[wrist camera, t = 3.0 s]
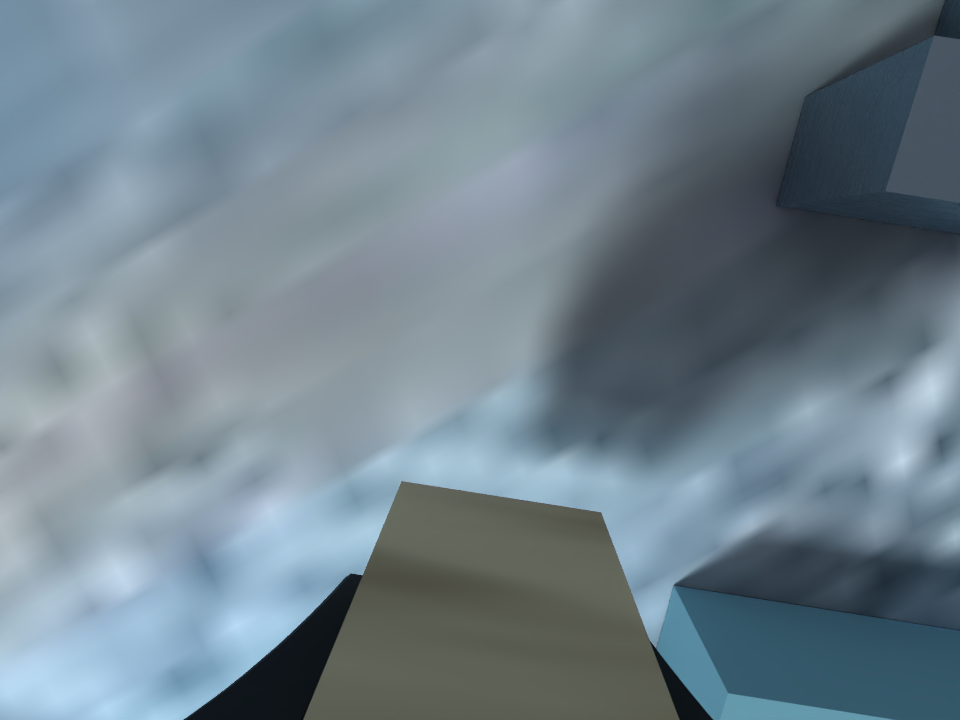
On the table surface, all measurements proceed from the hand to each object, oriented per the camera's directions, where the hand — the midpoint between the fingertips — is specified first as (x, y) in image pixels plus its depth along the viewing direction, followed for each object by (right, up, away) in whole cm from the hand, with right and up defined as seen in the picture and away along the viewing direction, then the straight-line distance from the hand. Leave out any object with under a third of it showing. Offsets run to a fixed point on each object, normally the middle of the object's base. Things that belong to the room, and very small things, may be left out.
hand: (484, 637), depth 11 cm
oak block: (0, 0, +2) cm, 2 cm away
